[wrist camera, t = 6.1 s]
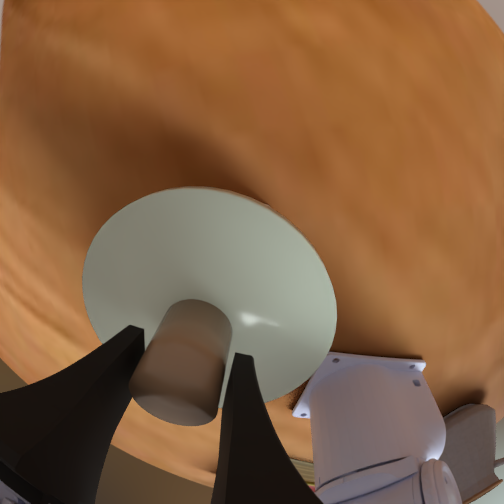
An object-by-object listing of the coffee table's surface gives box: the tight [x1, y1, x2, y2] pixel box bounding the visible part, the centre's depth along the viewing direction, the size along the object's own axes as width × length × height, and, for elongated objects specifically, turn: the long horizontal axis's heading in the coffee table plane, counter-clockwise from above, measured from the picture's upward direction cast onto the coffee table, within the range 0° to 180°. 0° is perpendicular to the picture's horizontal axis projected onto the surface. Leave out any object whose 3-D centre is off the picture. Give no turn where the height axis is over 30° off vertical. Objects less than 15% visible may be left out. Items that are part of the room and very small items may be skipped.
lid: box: [82, 186, 337, 426], centre depth 10 cm, size 12×12×5 cm
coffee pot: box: [438, 404, 504, 504], centre depth 14 cm, size 21×12×15 cm, turn 140°
